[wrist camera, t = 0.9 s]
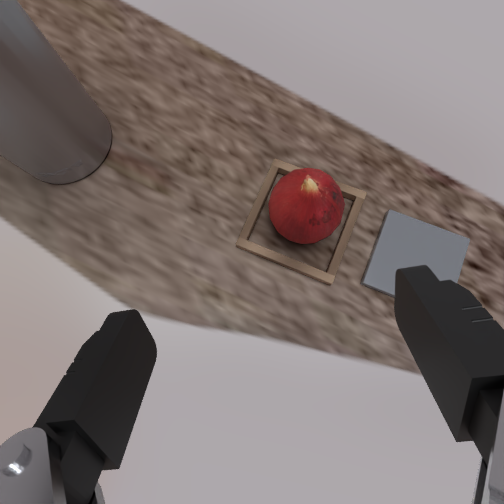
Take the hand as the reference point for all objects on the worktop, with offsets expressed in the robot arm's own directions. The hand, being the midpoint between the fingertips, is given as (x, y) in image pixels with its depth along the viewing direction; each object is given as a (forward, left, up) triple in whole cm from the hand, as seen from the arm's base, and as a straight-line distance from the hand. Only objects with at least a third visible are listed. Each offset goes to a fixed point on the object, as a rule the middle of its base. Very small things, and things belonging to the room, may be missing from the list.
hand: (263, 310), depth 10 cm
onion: (-7, +6, -17) cm, 20 cm away
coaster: (-1, +14, -17) cm, 22 cm away
